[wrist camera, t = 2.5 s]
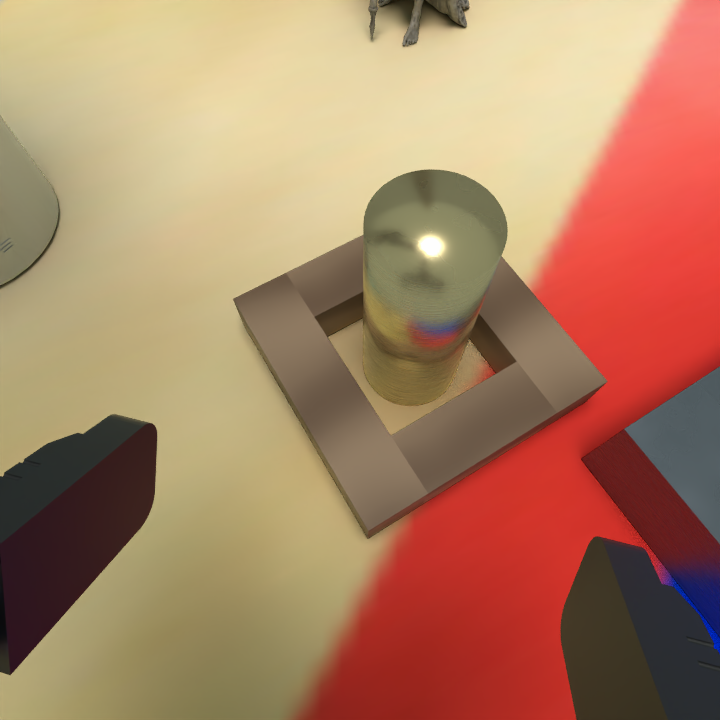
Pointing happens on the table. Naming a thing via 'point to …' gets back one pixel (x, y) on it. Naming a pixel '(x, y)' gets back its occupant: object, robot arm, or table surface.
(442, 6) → the wizard figurine
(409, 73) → the table surface
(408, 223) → the brass peg
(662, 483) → the charcoal block
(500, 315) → the walnut stand
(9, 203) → the robot arm
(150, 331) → the table surface
